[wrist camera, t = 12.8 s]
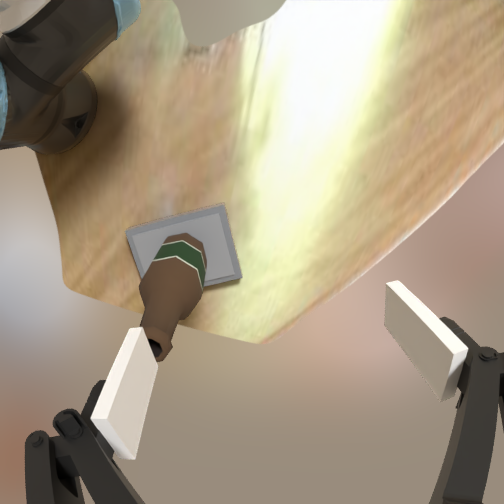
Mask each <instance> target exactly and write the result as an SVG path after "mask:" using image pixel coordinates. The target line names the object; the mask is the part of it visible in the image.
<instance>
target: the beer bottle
mask: <svg viewBox="0 0 504 504" xmlns="http://www.w3.org/2000/svg"><path fill="white" fill-rule="evenodd" d="M206 268H207V259H206V254H205V250H204V246H203V243H202V242H201V241H199V240H197V239H196V238H194V237H193V236H191V235H190V234H188V233H182V234H177V235H172V236H168V237H167V238H166V239H165V241H164V243H163V244H162V246H161V248H160V249H159V251H158V253H157V254H156V256H155V258H154V259H153V261H152V263H151V264H150V266H149V268H148V270H147V271H146V273H145V275H144V276H143V278H142V280H141V282H140V285H139V290H140V295H141V298H142V300H143V303H144V306H145V311H144V314H143V317H142V320H141V324H140V327H143V329H144V332H145V335H146V337H147V340H148V342H149V345H150V348H151V350H152V353H153V355H154V358H155V360H156V362H160V361H163V360H164V358H165V357H166V356H167V355H168V353H169V352H170V350H171V349H172V347H173V346H172V344H171V339H172V337H173V334H174V331H175V328H176V326H177V323H178V320H183V319H185V318H186V317H188V316H189V314H190V313H191V312H192V310H193V309H194V307H195V306H196V304H197V303H198V302H199V300H200V299H201V296H202V293H203V287H204V281H205V274H206Z"/></svg>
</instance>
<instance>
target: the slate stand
mask: <svg viewBox="0 0 504 504" xmlns="http://www.w3.org/2000/svg"><path fill="white" fill-rule="evenodd" d="M125 233H126V236H127V239H128V242H129V245H130V248H131V251H132V253H133V256H134V259H135V262H136V265H137V268H138V270H139V273H140V276H141V279H142V278H143V276H144V275H145V273H146V271H147V270H148V268H149V266H150V264H151V263H152V261H153V259H154V258H155V256H156V254H157V253H158V251H159V249H160V248H161V246H162V244H163V243H164V241H165V239H166V238H167V237H168V236H172V235H177V234H182V233H188V234H190V235H191V236H193V237H194V238H196V239H197V240H199V241H201V242H202V243H203V246H204V250H205V254H206V259H207V268H206V274H205V281H204V286H209V285H213V284H218V283H222V282H226V281H231V280H235V279H240V278H243V277H242V271H241V267H240V263H239V259H238V255H237V251H236V247H235V243H234V239H233V235H232V231H231V227H230V223H229V219H228V215H227V211H226V207H225V203H220V204H216V205H212V206H208V207H204V208H200V209H196V210H192V211H188V212H184V213H180V214H177V215H173V216H169V217H165V218H162V219H158V220H154V221H151V222H147V223H143V224H140V225H136V226H133V227H129V228H128V229H127V230H126V231H125Z"/></svg>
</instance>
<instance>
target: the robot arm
mask: <svg viewBox="0 0 504 504" xmlns="http://www.w3.org/2000/svg"><path fill="white" fill-rule="evenodd" d="M140 12H141V5H140V1H139V0H0V32H1V33H2V34H3V35H2V37H1V38H0V150H2V149H9V148H15V147H21V146H27V147H29V148H31V149H32V150H34V151H36V152H38V153H41V154H57V153H62V152H65V151H67V150H69V149H71V148H73V147H74V146H76V145H77V144H78V143H79V142H80V141H81V140H82V139H83V138H84V137H85V135H86V134H87V132H88V131H89V129H90V127H91V125H92V123H93V120H94V118H95V114H96V109H97V92H96V88H95V85H94V83H93V81H92V79H91V78H90V76H89V75H88V74H87V73H86V72H85V71H83V70H82V69H83V68H84V67H85V66H86V65H87V64H88V63H89V62H90V61H91V60H92V59H94V58H95V57H96V56H97V55H98V54H99V53H100V52H101V51H102V50H103V49H105V48H106V47H107V46H108V45H109V44H110V43H111V42H113V41H114V40H117V39H118V38H119V37H120V35H121V33H122V32H124V31H125V30H126V29H127V28H128V27H129V26H130V25H132V24H133V23H134V22H135V21H136V20H137V18H138V16H139V14H140ZM384 325H385V327H386V328H387V330H388V331H389V332H390V334H391V335H392V336H393V338H394V339H395V340H396V341H397V343H398V344H399V346H401V348H402V350H403V351H404V352H405V353H406V355H407V356H408V358H409V359H410V360H411V362H412V363H413V364H414V366H415V367H416V369H417V370H418V371H419V373H420V374H421V376H422V377H423V378H424V380H425V381H426V382H427V384H428V385H429V387H430V388H431V390H432V391H433V392H434V394H435V395H436V397H437V398H438V400H439V401H440V402H442V401H444V400H447V399H449V398H451V397H453V396H454V395H455V392H456V389H457V387H458V388H459V389H460V391H461V395H460V398H459V400H458V403H457V406H456V408H457V413H456V417H455V421H454V426H453V430H452V434H451V438H450V441H449V445H448V449H447V452H446V456H445V459H444V463H443V466H442V469H441V472H440V475H439V478H438V481H437V483H436V486H435V489H434V492H433V494H432V497H431V500H430V502H429V504H483V503H482V498H483V494H484V490H485V486H486V482H487V477H488V472H489V468H490V462H491V457H492V451H493V445H494V438H495V431H496V422H497V413H498V403H499V407H500V413H501V418H502V424H503V430H504V353H498V352H497V351H496V350H495V349H493V348H490V347H480V346H479V345H478V344H477V343H476V342H475V341H474V340H473V339H472V338H471V337H470V336H469V335H468V334H467V333H466V332H465V333H464V330H463V329H461V328H459V326H458V325H457V324H456V323H455V322H454V321H453V320H451V319H448V318H446V317H442V318H437V316H435V314H433V313H432V312H431V311H430V310H429V309H428V308H427V307H426V306H425V305H424V304H423V303H422V302H421V301H420V300H419V299H418V298H417V297H415V295H414V294H412V293H411V292H410V291H409V290H408V289H407V288H406V287H405V286H404V285H403V284H402V283H401V282H399V281H398V280H397V281H393V282H389V283H386V301H385V323H384ZM157 369H158V365H157V362H156V360H155V358H154V355H153V353H152V350H151V348H150V345H149V342H148V340H147V337H146V335H145V332H144V329H143V327H138V328H130V329H129V331H128V333H127V336H126V338H125V340H124V342H123V344H122V346H121V348H120V351H119V353H118V355H117V357H116V360H115V362H114V364H113V366H112V368H111V371H110V373H109V375H108V378H107V380H100V381H99V382H98V383H97V384H96V385H95V386H94V387H93V388H92V391H91V393H90V396H89V397H88V400H87V403H86V404H85V406H84V409H83V411H82V413H81V415H80V414H79V413H78V412H77V411H76V410H74V409H66V410H63V411H61V412H59V413H58V414H57V415H56V417H54V420H53V427H54V428H55V429H56V431H57V432H58V433H59V435H60V436H55V437H49V436H48V434H47V433H46V432H44V431H41V430H40V431H35V432H33V433H31V434H30V435H29V436H28V437H27V439H26V442H25V483H26V499H27V504H85V502H84V498H83V493H82V489H81V484H80V479H79V476H81V478H82V480H83V482H84V484H85V486H86V488H87V490H88V491H89V493H90V495H91V497H92V499H93V500H94V502H95V504H145V503H144V501H143V500H142V499H141V497H140V496H139V495H138V494H137V492H136V491H135V490H134V488H133V487H132V485H131V484H130V483H129V481H128V480H127V479H126V477H125V476H124V474H123V473H122V471H121V470H120V468H119V467H118V466H117V464H116V463H115V461H114V460H113V459H112V457H113V453H114V452H115V453H116V454H117V456H118V457H119V458H120V459H136V454H137V450H138V446H139V441H140V436H141V433H142V428H143V424H144V420H145V416H146V411H147V408H148V404H149V400H150V396H151V392H152V388H153V384H154V380H155V377H156V373H157Z"/></svg>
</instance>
